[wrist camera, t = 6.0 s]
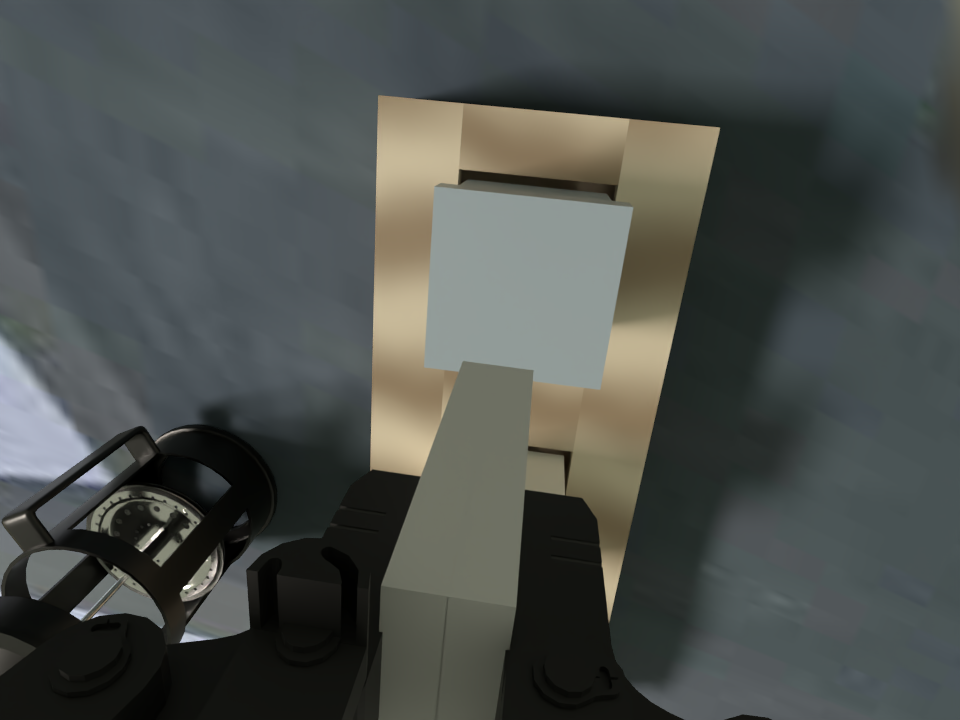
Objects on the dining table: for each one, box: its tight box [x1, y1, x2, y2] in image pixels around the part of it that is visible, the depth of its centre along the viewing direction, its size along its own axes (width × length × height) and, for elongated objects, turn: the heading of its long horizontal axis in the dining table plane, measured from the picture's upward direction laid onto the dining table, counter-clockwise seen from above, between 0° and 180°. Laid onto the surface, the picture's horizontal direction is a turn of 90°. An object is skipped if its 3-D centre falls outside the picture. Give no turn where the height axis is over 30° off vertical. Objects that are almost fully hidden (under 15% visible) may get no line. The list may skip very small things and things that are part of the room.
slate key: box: [424, 179, 633, 390], centre depth 24 cm, size 7×7×6 cm
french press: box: [0, 425, 277, 676], centre depth 30 cm, size 12×9×23 cm
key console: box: [370, 95, 720, 621], centre depth 34 cm, size 38×14×6 cm, turn 175°
